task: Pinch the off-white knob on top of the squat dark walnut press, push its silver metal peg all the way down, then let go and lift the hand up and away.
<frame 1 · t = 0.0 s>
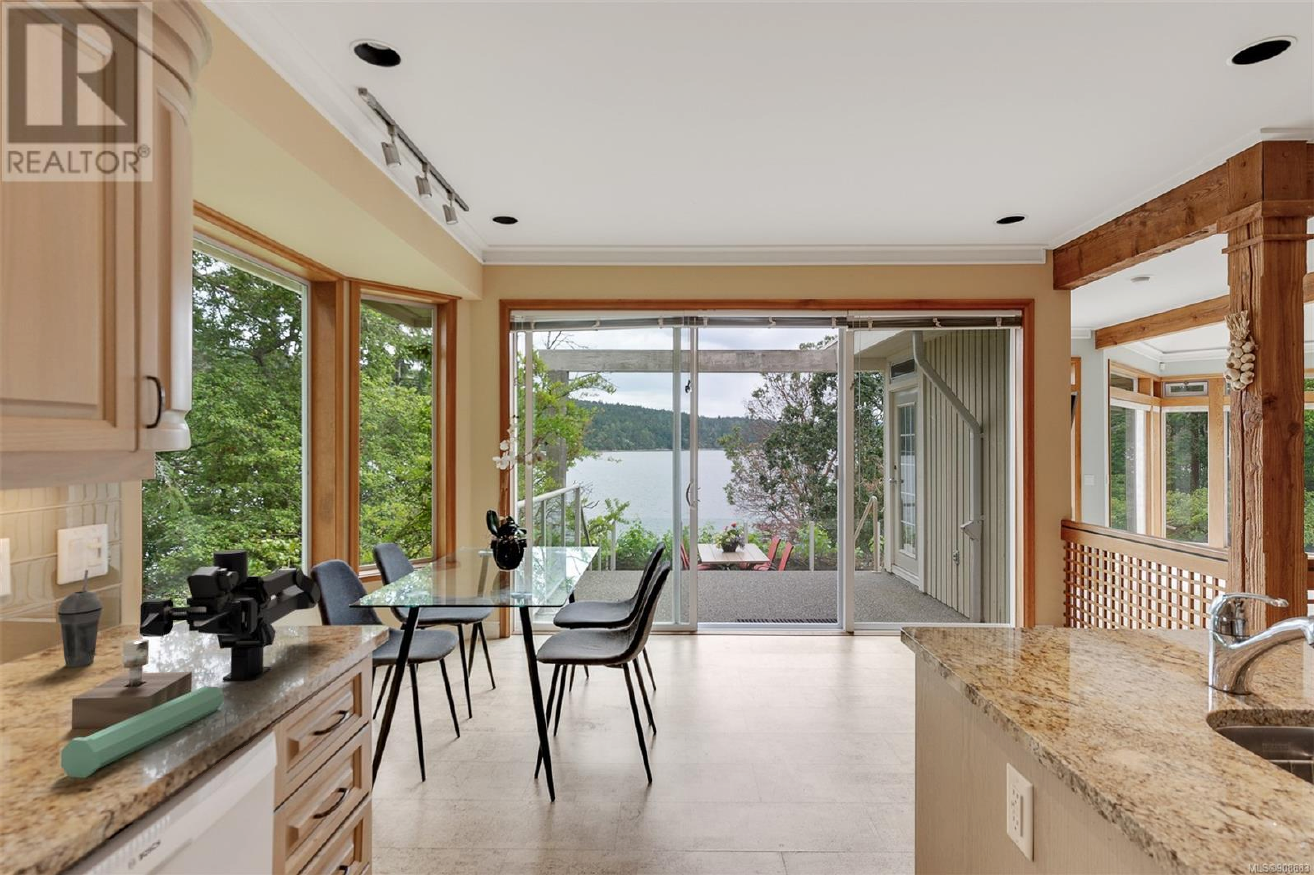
hand: (170, 630, 110), 17 cm above the countertop, tool horizontal, fingers open, 9 cm apart
silver metal peg: (135, 666, 116), point 8 cm above the countertop, slide at 0.0 cm
mint green octagonal rod: (155, 741, 107), on the countertop
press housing: (134, 712, 116), on the countertop
beverage cup: (79, 664, 141), on the countertop
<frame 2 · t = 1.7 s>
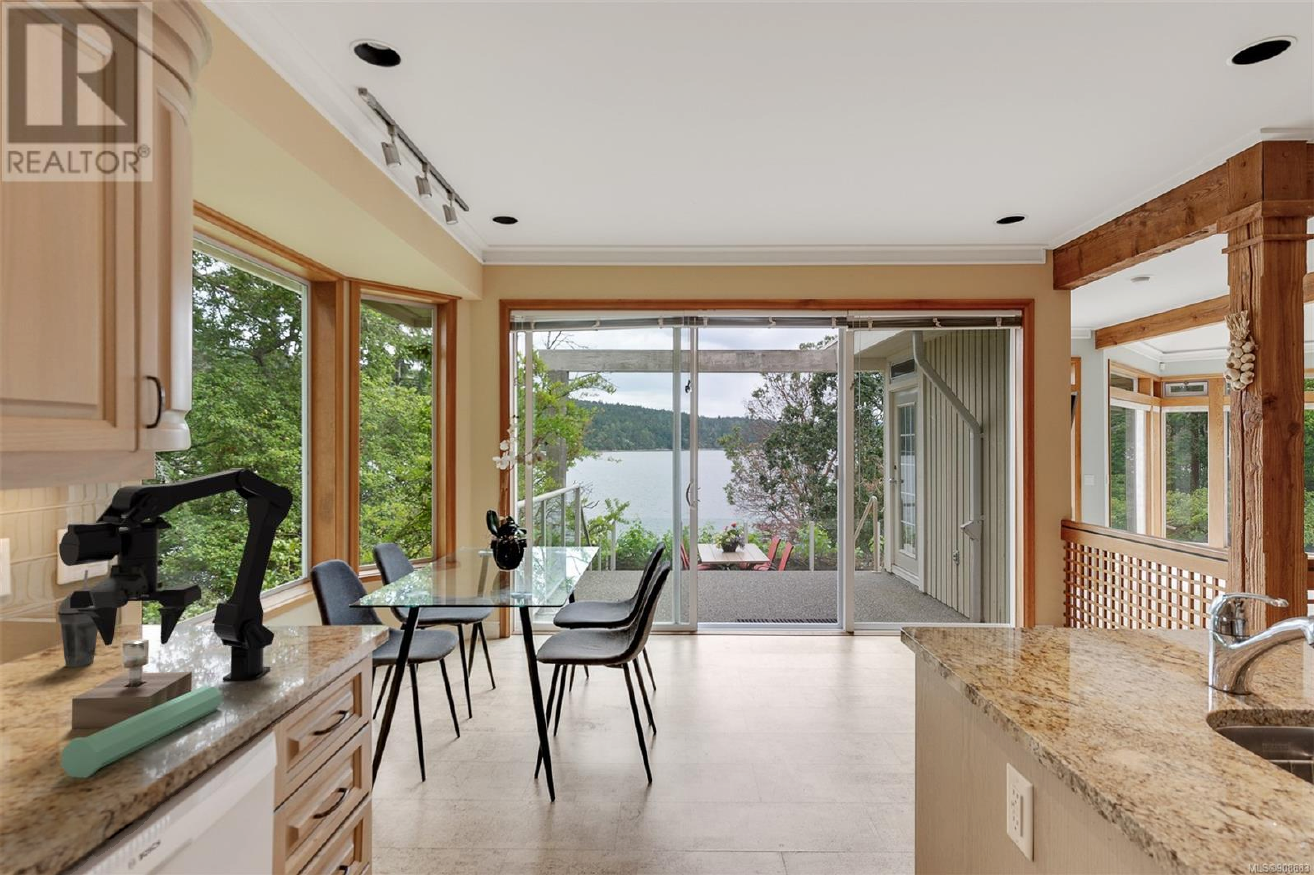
hand: (136, 644, 116), 12 cm above the countertop, tool pointing down, fingers open, 9 cm apart
nothing on the countertop moved.
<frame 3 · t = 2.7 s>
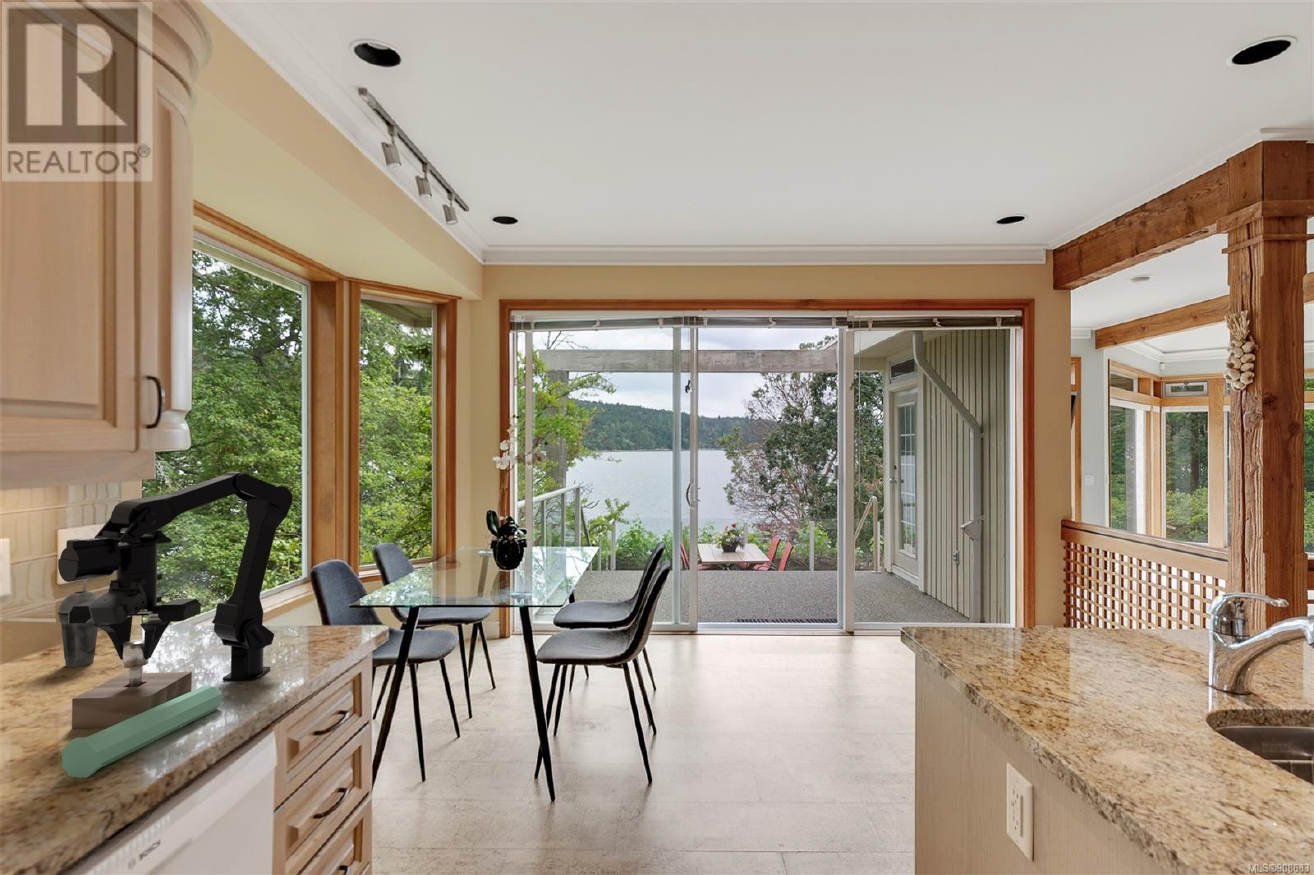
hand: (135, 659, 116), 10 cm above the countertop, tool pointing down, fingers closed on silver metal peg, 4 cm apart
silver metal peg: (135, 666, 116), point 8 cm above the countertop, slide at 0.0 cm, touching gripper
everything else where it was.
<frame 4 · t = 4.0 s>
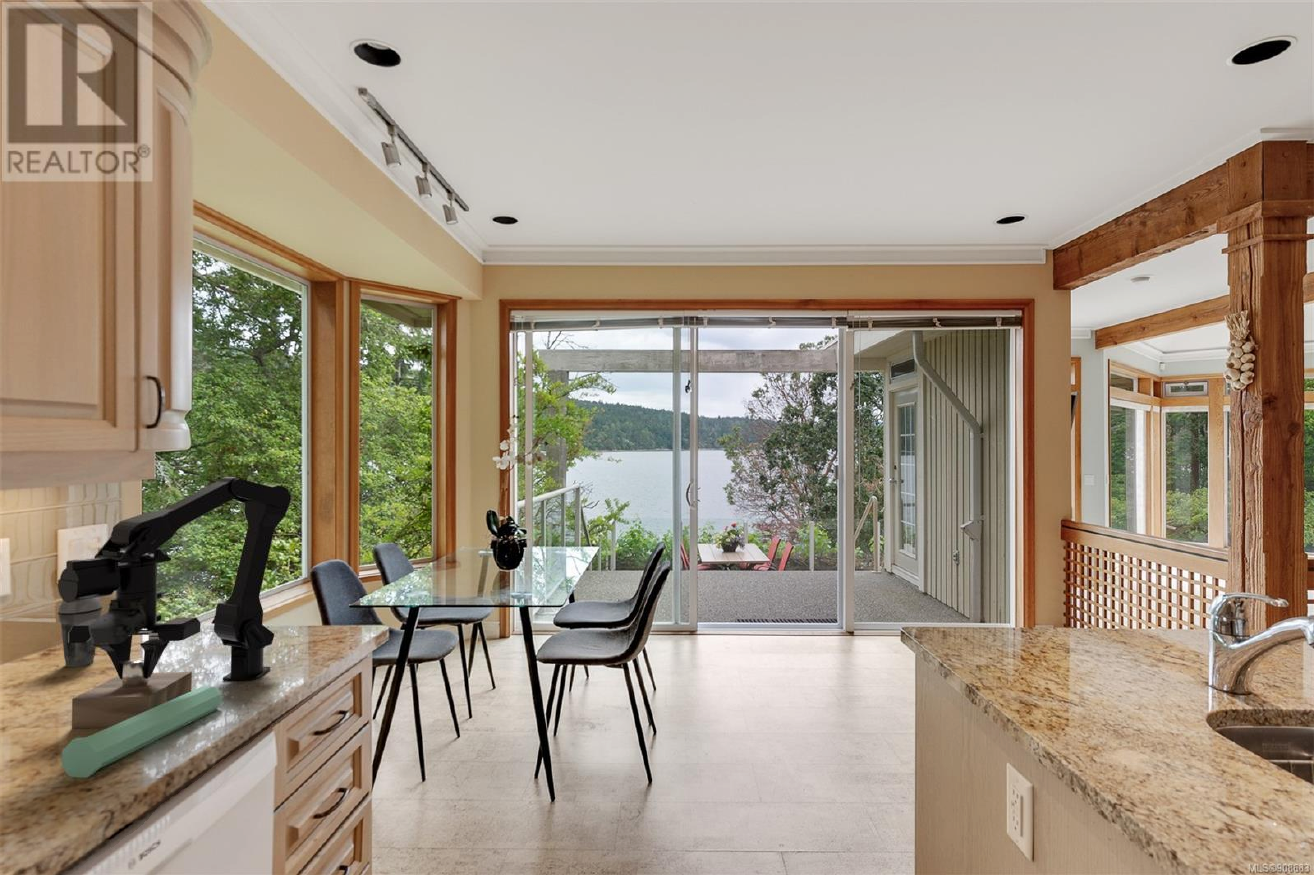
hand: (135, 678, 116), 6 cm above the countertop, tool pointing down, fingers closed on silver metal peg, 4 cm apart
silver metal peg: (135, 685, 116), point 5 cm above the countertop, slide at 3.4 cm, touching gripper
everything else where it was.
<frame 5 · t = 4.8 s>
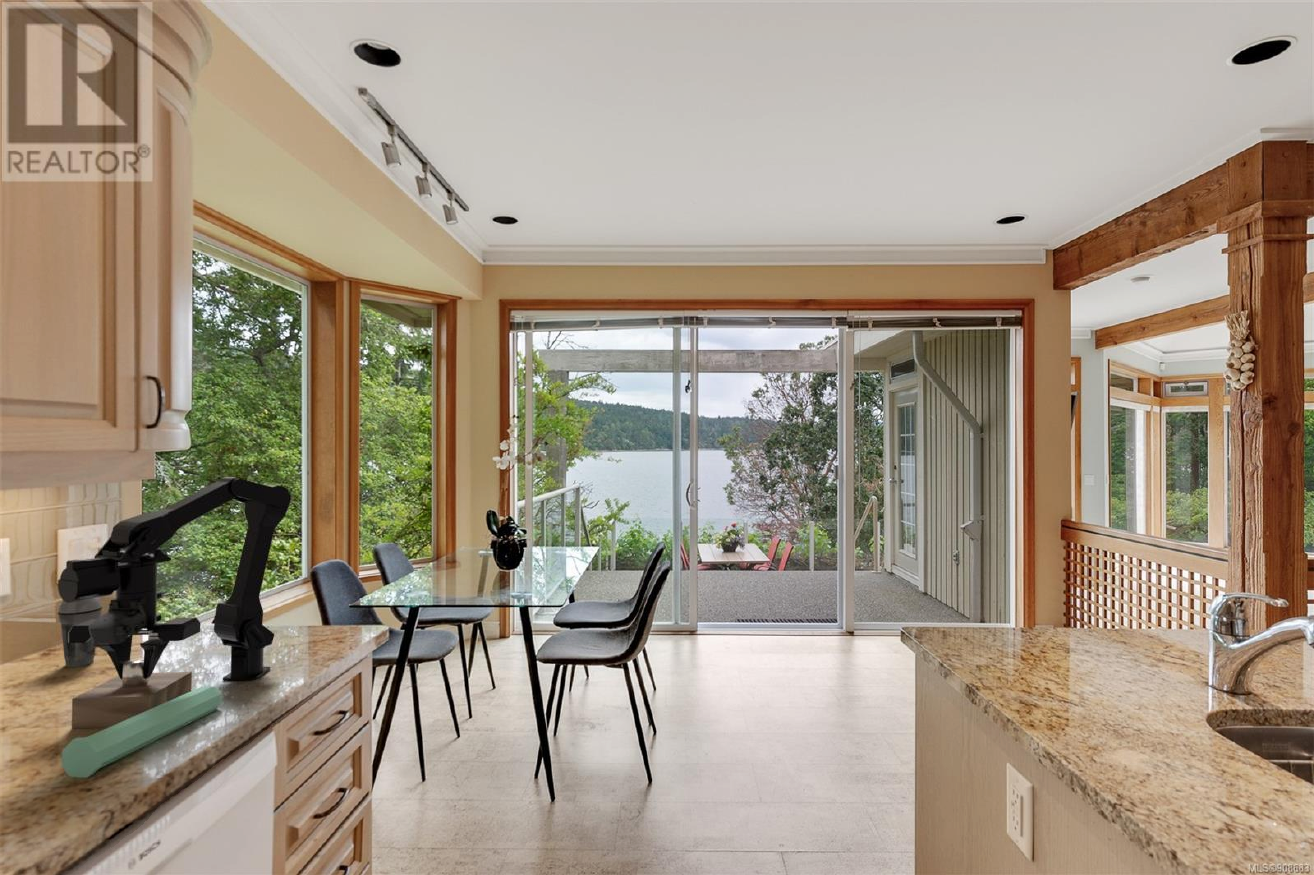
hand: (135, 678, 116), 6 cm above the countertop, tool pointing down, fingers closed on silver metal peg, 3 cm apart
silver metal peg: (135, 685, 116), point 5 cm above the countertop, slide at 3.4 cm, touching gripper
everything else where it was.
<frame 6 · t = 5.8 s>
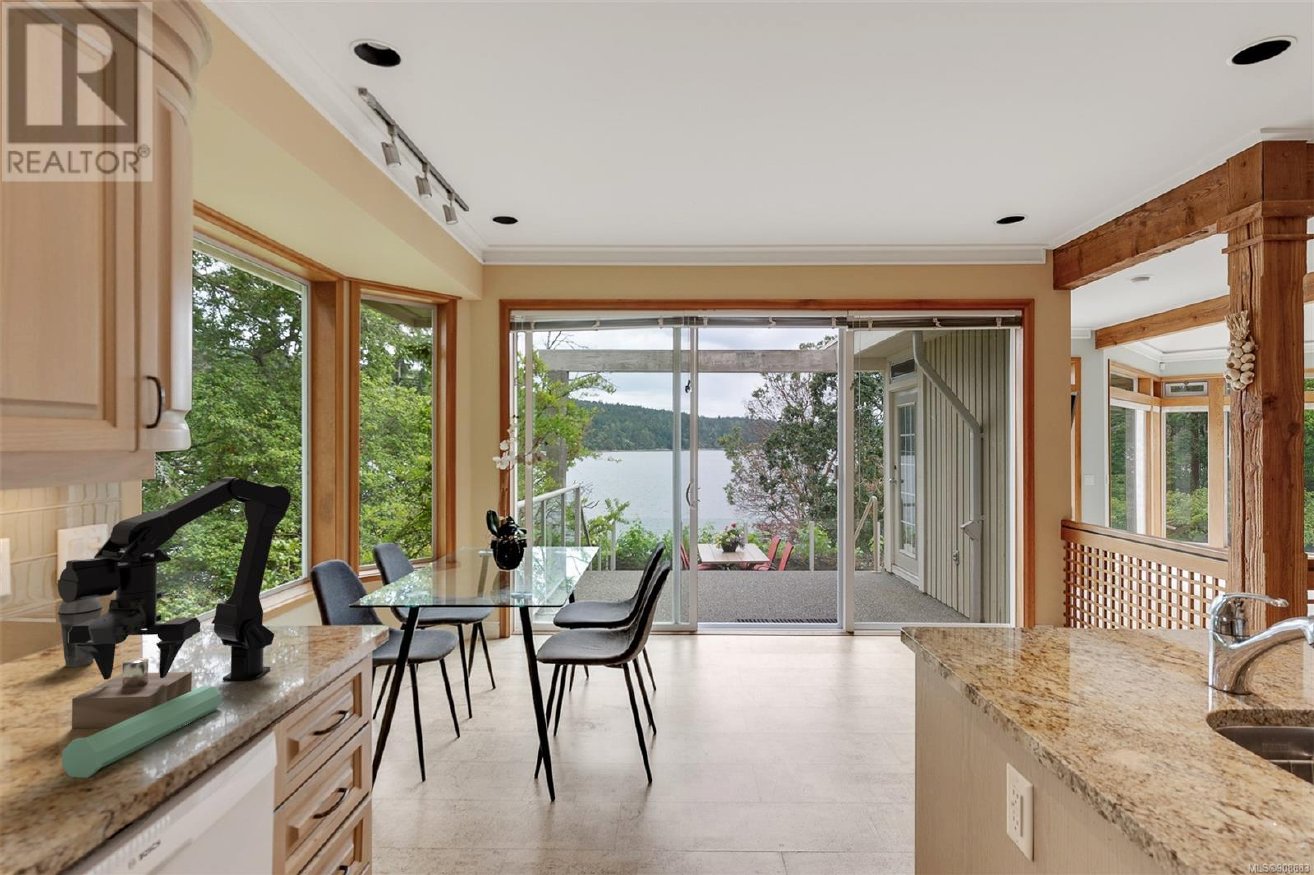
hand: (135, 678, 116), 6 cm above the countertop, tool pointing down, fingers open, 9 cm apart
silver metal peg: (135, 685, 116), point 5 cm above the countertop, slide at 3.4 cm
everything else where it was.
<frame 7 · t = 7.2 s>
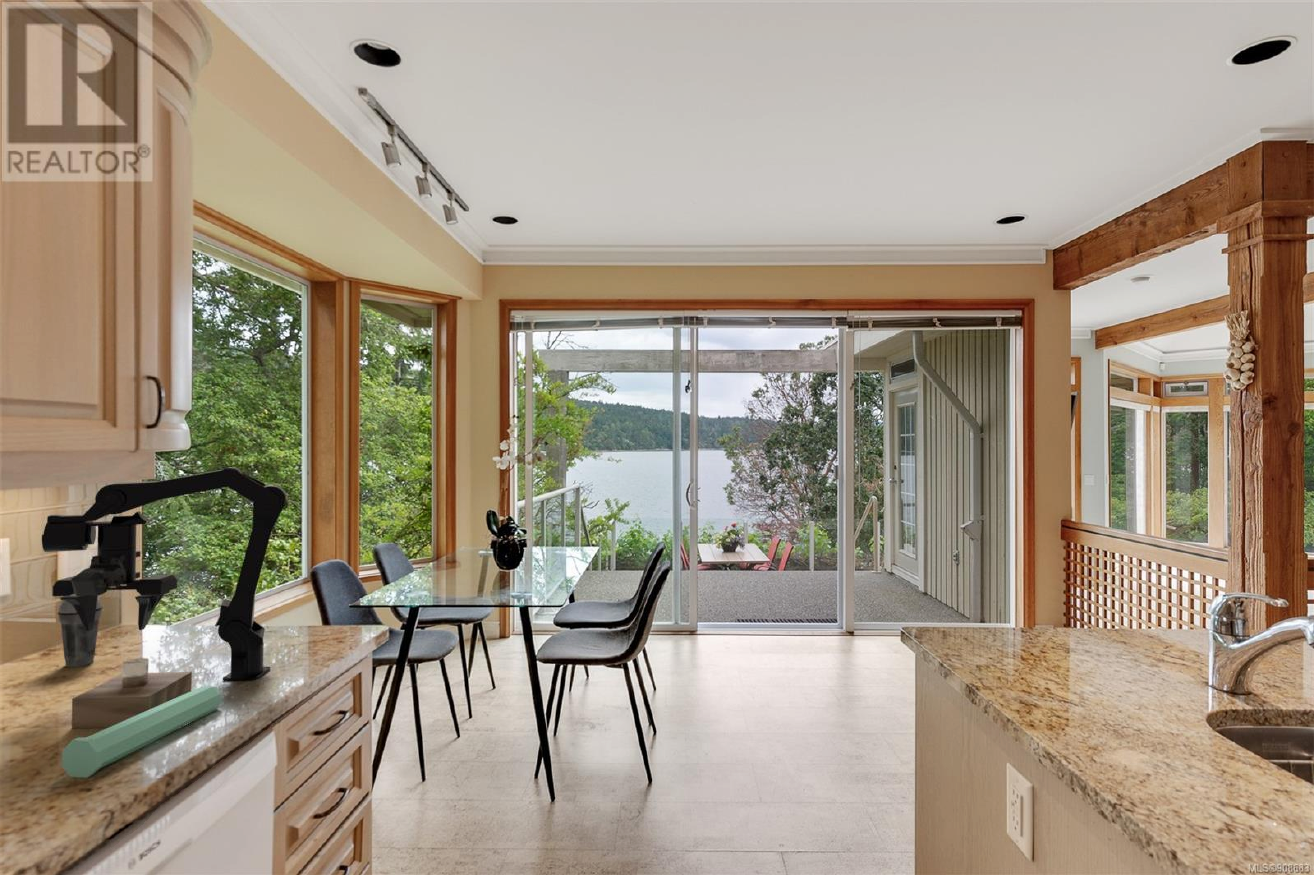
hand: (115, 630, 125), 12 cm above the countertop, tool pointing down, fingers open, 9 cm apart
nothing on the countertop moved.
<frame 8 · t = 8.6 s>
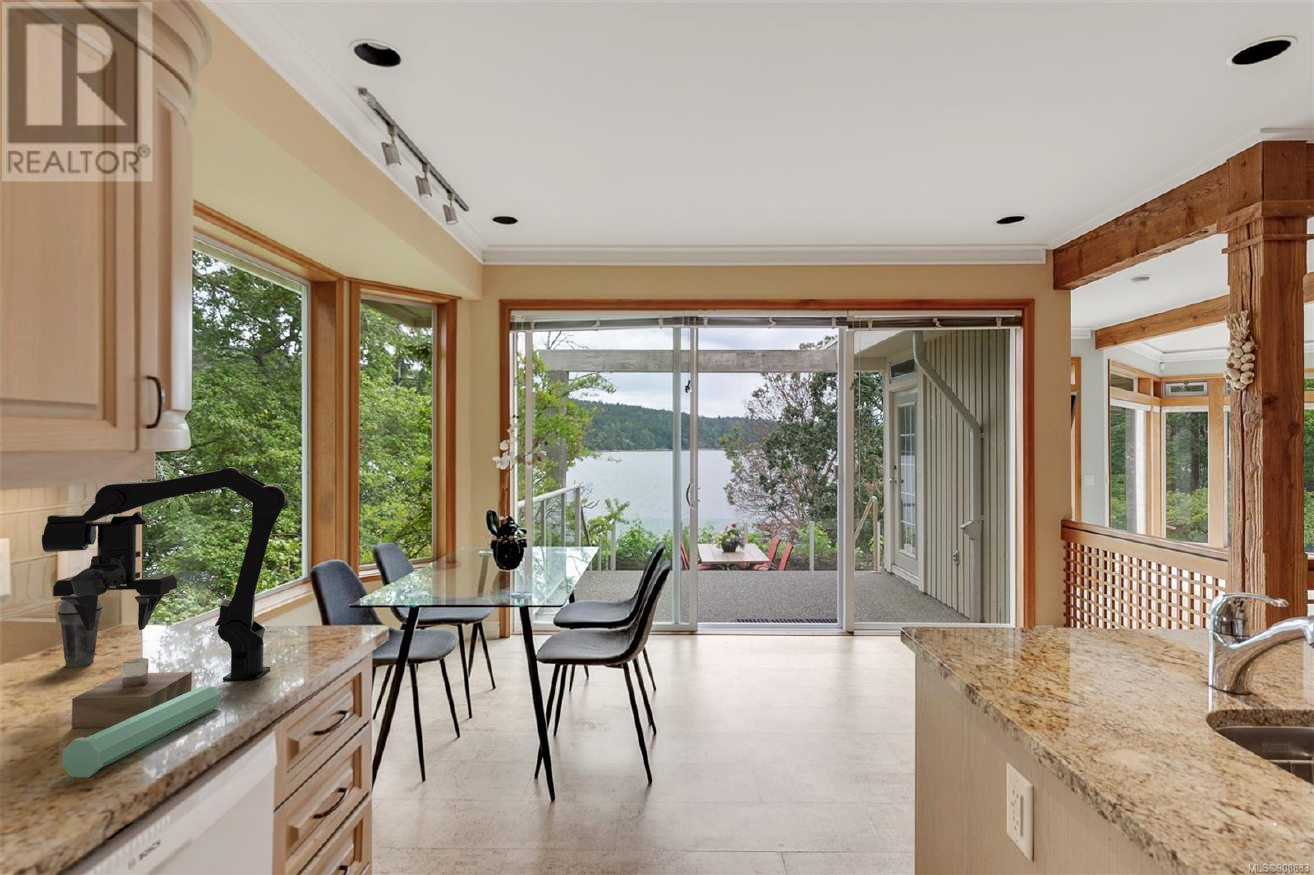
hand: (115, 630, 125), 12 cm above the countertop, tool pointing down, fingers open, 9 cm apart
nothing on the countertop moved.
at the end: silver metal peg slide at 3.4 cm; the gripper is holding nothing; mint green octagonal rod moved 0.5 cm from its start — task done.
